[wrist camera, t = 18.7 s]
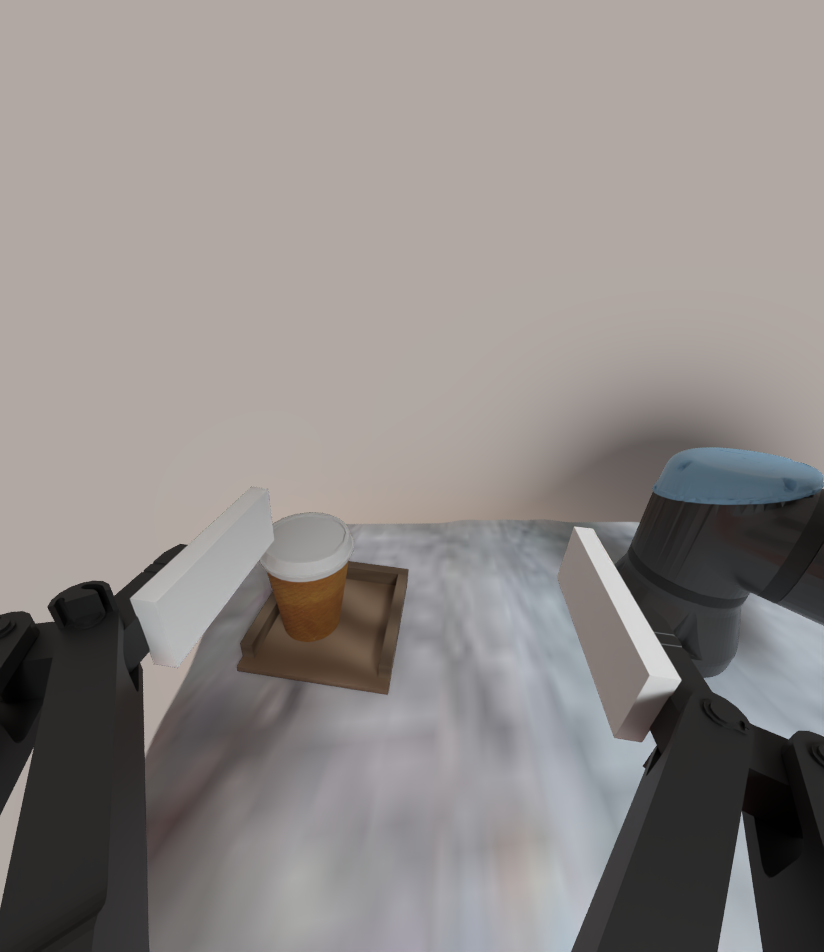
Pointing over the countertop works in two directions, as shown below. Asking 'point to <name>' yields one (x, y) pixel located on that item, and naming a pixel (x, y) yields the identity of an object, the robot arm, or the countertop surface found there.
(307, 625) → the disposable coffee cup
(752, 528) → the robot arm
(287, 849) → the countertop surface
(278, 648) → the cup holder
